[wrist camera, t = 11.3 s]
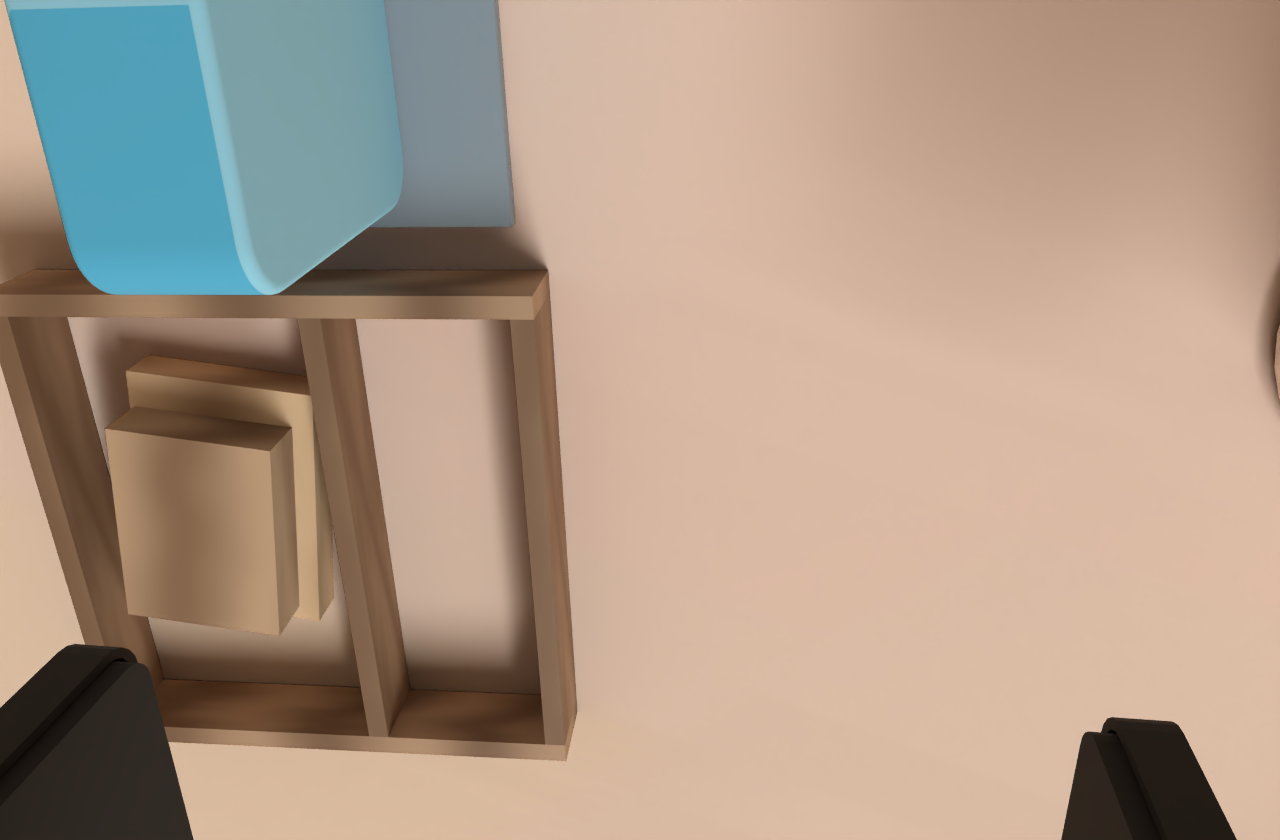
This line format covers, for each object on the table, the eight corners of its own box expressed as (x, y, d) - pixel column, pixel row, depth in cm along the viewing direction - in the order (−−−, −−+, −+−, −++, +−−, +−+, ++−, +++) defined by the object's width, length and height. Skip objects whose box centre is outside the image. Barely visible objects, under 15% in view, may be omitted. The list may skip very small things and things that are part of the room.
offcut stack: (331, 375, 40) (290, 418, 36) (336, 592, 44) (300, 651, 40) (153, 351, 40) (94, 391, 36) (175, 570, 44) (124, 625, 41)
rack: (548, 270, 37) (532, 296, 34) (577, 711, 45) (566, 760, 42) (33, 269, 39) (-21, 294, 36) (150, 692, 47) (113, 739, 44)
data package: (214, -201, 31) (-76, -279, 20) (360, -208, 31) (145, -291, 20) (283, 201, 36) (80, 312, 25) (410, 199, 35) (260, 313, 25)
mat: (478, -254, 30) (473, -257, 30) (515, 222, 36) (511, 227, 36) (89, -234, 31) (77, -237, 31) (185, 223, 37) (177, 228, 37)
